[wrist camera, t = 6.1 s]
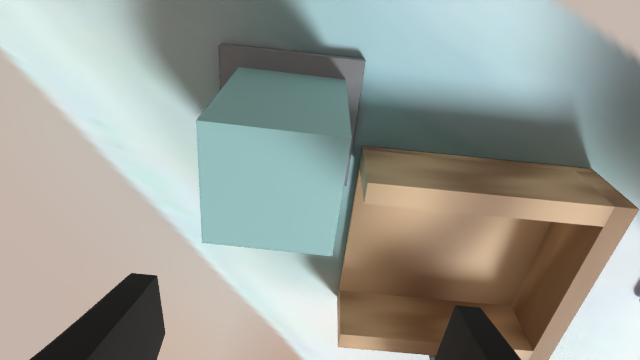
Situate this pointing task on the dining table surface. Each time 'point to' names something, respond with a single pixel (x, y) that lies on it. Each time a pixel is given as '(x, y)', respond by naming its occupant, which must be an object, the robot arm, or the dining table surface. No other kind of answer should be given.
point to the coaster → (297, 70)
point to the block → (274, 161)
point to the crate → (472, 248)
